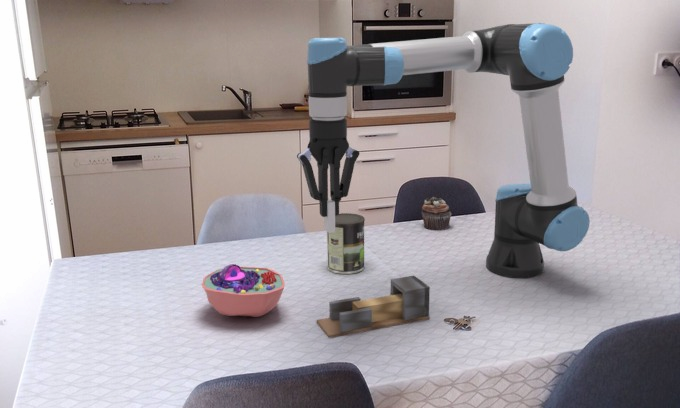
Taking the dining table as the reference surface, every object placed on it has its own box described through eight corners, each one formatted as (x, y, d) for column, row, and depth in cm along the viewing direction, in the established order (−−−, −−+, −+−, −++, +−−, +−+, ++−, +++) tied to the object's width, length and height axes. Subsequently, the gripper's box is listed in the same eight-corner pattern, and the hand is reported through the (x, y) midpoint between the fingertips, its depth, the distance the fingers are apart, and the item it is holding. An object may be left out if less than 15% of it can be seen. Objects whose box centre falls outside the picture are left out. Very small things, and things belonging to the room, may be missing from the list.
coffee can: (367, 262, 179) (367, 213, 175) (361, 275, 169) (361, 224, 165) (331, 259, 181) (330, 212, 177) (323, 273, 171) (322, 222, 167)
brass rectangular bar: (408, 308, 147) (408, 292, 146) (415, 314, 144) (415, 297, 143) (352, 318, 143) (352, 301, 142) (358, 324, 139) (358, 308, 138)
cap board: (412, 305, 150) (413, 275, 148) (429, 318, 143) (430, 287, 141) (316, 322, 142) (315, 290, 140) (328, 337, 135) (328, 304, 133)
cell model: (256, 338, 135) (253, 288, 132) (187, 317, 146) (184, 270, 143) (302, 309, 149) (301, 263, 146) (236, 291, 160) (234, 248, 157)
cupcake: (443, 233, 203) (444, 202, 200) (416, 228, 208) (416, 198, 206) (455, 225, 211) (456, 196, 208) (429, 220, 216) (429, 192, 213)
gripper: (351, 113, 133) (351, 222, 139) (291, 117, 128) (294, 229, 135) (365, 118, 126) (365, 231, 132) (302, 122, 121) (305, 239, 128)
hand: (329, 230), depth 133 cm, fingers closed
